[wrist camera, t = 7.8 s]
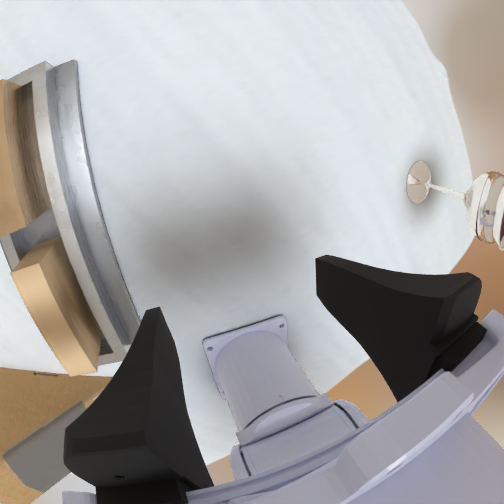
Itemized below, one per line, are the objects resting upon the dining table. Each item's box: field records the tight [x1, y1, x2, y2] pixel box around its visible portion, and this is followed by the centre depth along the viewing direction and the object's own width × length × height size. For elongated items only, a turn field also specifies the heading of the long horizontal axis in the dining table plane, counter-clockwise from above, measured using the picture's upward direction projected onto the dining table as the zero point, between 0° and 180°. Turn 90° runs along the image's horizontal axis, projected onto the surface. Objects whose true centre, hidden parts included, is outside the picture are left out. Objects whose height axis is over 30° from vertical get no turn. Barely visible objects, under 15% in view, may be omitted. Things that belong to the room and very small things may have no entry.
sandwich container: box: [0, 367, 113, 504], centre depth 15 cm, size 9×15×15 cm, turn 82°
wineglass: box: [407, 161, 504, 251], centre depth 20 cm, size 7×7×12 cm
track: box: [0, 60, 141, 366], centre depth 13 cm, size 22×9×5 cm, turn 7°
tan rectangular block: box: [10, 236, 102, 377], centre depth 15 cm, size 8×2×4 cm, turn 8°
